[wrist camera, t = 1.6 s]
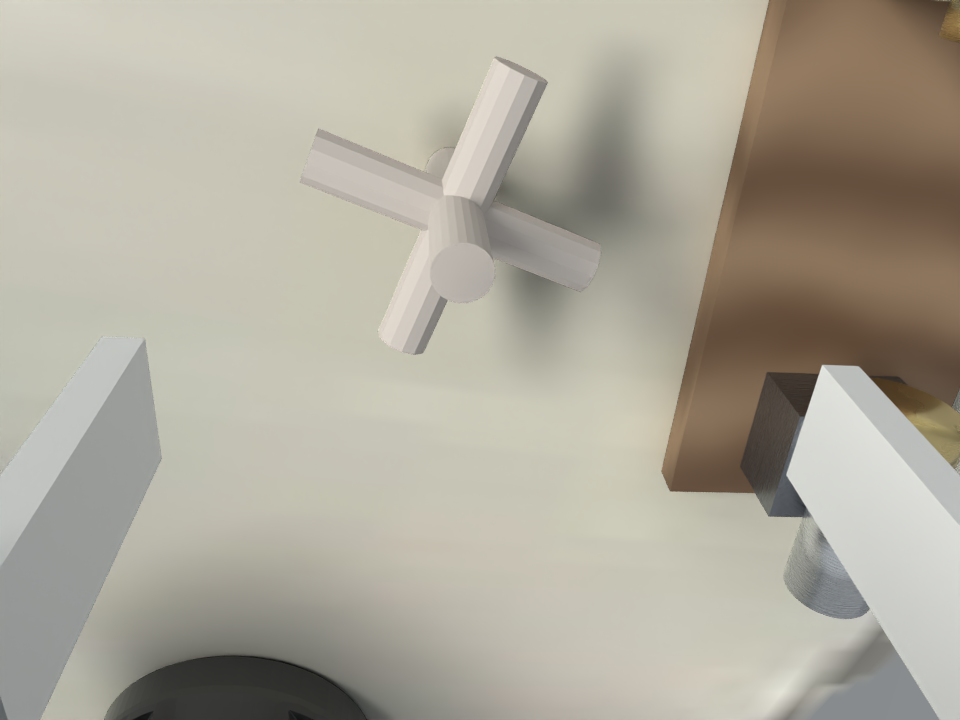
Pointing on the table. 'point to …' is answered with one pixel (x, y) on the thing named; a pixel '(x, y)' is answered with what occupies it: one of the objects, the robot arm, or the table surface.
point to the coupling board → (829, 224)
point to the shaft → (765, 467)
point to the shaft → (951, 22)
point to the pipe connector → (456, 209)
